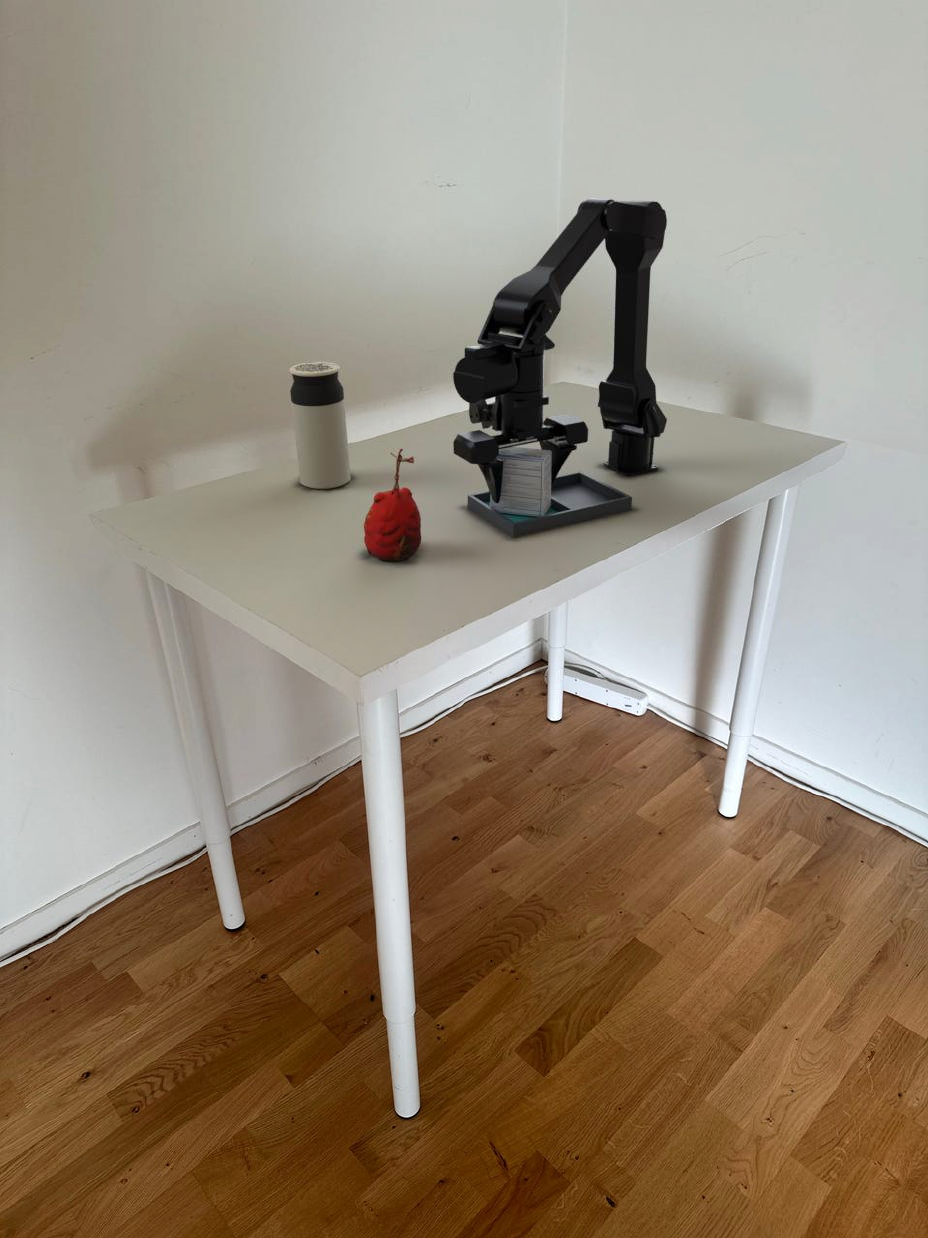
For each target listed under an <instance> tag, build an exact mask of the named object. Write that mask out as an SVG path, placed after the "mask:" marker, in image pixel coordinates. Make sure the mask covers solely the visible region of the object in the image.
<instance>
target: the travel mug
mask: <svg viewBox="0 0 928 1238" xmlns="http://www.w3.org/2000/svg"><path fill="white" fill-rule="evenodd" d="M340 369H341V366H340V365H339V364H338V363H335V362H330V361H309V362H302V363H298V364H295V365H292V366H291V367H290V368H289V373H290V374H291V377H292V380H293V383H292V385H291V388H290V390H289V392H290V402H291V410H292V412H291V413H292V419H293V429H294V439H295V447H296V455H297V464H298V474H299V482H300V484H301V485H302V486H304V487H307V488H311V489H316V490H330V489H335V488H339V487H342V486H344V485H345V484H347V483H348V482H350V481H351V479H352V475H351V466H350V464H351V463H350V453H349V443H348V442H349V441H348V431H347V430H348V428H347V416H346V404H345V393H344V392H345V391H344V386H343V385H342V383H341V382H340V380H339V371H340Z"/></svg>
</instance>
